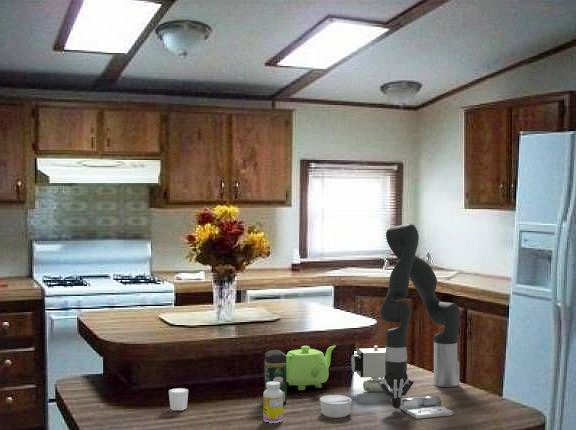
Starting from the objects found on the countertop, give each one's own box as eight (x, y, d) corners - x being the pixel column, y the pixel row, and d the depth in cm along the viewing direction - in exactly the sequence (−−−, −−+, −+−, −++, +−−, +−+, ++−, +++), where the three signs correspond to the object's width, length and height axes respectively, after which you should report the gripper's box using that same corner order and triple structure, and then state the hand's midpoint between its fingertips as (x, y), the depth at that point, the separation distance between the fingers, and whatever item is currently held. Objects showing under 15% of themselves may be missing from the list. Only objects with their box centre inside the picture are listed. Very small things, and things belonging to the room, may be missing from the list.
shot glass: (191, 408, 252) (191, 388, 252) (182, 413, 246) (182, 393, 245) (174, 406, 254) (174, 387, 254) (165, 411, 248) (165, 391, 248)
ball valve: (395, 387, 280) (395, 343, 280) (401, 393, 272) (401, 347, 272) (350, 389, 278) (350, 344, 278) (355, 394, 270) (355, 348, 269)
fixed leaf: (425, 399, 263) (425, 388, 263) (442, 408, 251) (442, 397, 251) (390, 402, 258) (390, 392, 258) (405, 412, 247) (405, 400, 247)
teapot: (297, 397, 266) (297, 355, 266) (272, 384, 285) (272, 345, 285) (353, 389, 278) (353, 349, 278) (325, 377, 297) (325, 339, 297)
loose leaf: (434, 405, 255) (434, 394, 255) (452, 414, 243) (452, 403, 243) (399, 408, 250) (399, 397, 250) (416, 418, 239) (416, 407, 239)
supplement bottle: (262, 418, 240) (262, 380, 240) (282, 417, 240) (282, 380, 240) (263, 424, 233) (263, 385, 233) (283, 423, 234) (283, 385, 234)
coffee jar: (263, 398, 265) (263, 348, 265) (283, 396, 267) (283, 347, 266) (267, 405, 256) (267, 354, 255) (288, 404, 257) (288, 353, 257)
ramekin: (342, 421, 237) (342, 405, 237) (313, 415, 243) (313, 400, 243) (357, 412, 247) (357, 397, 247) (329, 407, 253) (329, 393, 253)
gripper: (407, 355, 253) (407, 403, 254) (374, 357, 249) (374, 406, 249) (418, 359, 246) (418, 409, 246) (383, 362, 242) (383, 412, 242)
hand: (396, 407), depth 248 cm, fingers closed
